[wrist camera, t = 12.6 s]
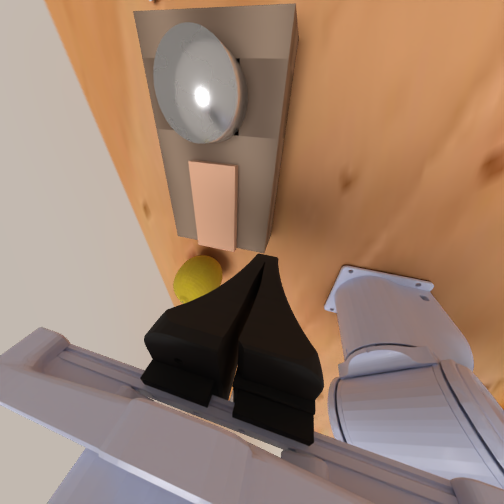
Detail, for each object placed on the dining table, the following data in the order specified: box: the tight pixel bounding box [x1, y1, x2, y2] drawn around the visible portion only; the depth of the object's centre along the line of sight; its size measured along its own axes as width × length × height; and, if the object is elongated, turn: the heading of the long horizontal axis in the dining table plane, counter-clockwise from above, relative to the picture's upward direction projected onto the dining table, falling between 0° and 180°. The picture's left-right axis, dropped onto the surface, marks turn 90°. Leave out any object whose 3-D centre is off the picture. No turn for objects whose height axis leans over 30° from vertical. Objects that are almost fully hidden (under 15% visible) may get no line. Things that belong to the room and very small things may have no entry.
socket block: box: [133, 4, 299, 253], centre depth 16 cm, size 10×16×4 cm, turn 176°
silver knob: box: [153, 22, 248, 143], centre depth 13 cm, size 5×5×6 cm
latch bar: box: [188, 160, 238, 252], centre depth 17 cm, size 8×4×1 cm, turn 176°
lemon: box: [173, 255, 222, 304], centre depth 23 cm, size 6×6×8 cm
